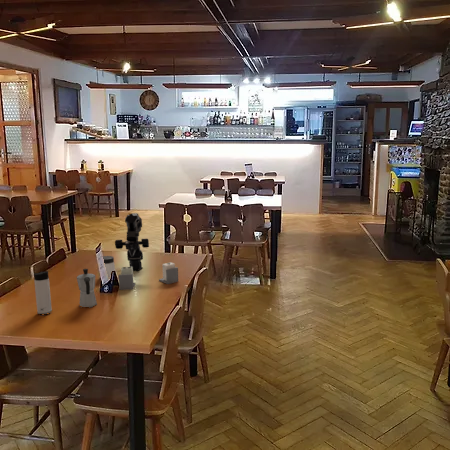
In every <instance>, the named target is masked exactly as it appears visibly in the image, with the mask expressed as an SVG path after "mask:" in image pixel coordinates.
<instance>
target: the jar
mask: <svg viewBox="0 0 450 450" xmlns="http://www.w3.org/2000/svg"><path fill="white" fill-rule="evenodd" d="M102 257H103V259H104V263H105V267H106V271H107V274H108V277H110V275H111V272H112V271H116V269H115V258H114V256H113V255H103V256H102Z"/></svg>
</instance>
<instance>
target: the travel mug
mask: <svg viewBox="0 0 450 450" xmlns="http://www.w3.org/2000/svg"><path fill="white" fill-rule="evenodd" d="M33 278H34V279H33V280H34V282H33V283H34V292H35V302H36V310H37V312H36V313H37V315H38V314H47V313H50V312H51V311H53V309H52V300H51V299H52V298H51V289H50V287H51V286H50V279H49V271H47V270H44V271H39V272H36V273H33ZM51 313H52V312H51ZM51 313H50V314H51Z"/></svg>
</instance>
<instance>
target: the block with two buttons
mask: <svg viewBox="0 0 450 450" xmlns="http://www.w3.org/2000/svg"><path fill="white" fill-rule="evenodd" d="M120 271H121V272H120V275H121V274H133V275H134V271H133V267H130V266H122V267H121V269H120Z"/></svg>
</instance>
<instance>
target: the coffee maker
mask: <svg viewBox="0 0 450 450" xmlns="http://www.w3.org/2000/svg"><path fill="white" fill-rule="evenodd" d="M82 271H83V273H81V274H78V275H77V277H76V281H77V286H78V290H79V291H80V292H79V304H80V305H79V304H78V305H79V307H80V306H82V307H89V308H93V306H94V307H95V305H96V306H97V305H98V302H97V299H96V294H95V293H96V292H95V291H94V290H95V287H96V274H93V273H89V268H83V269H82ZM82 307H81V308H82Z"/></svg>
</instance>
